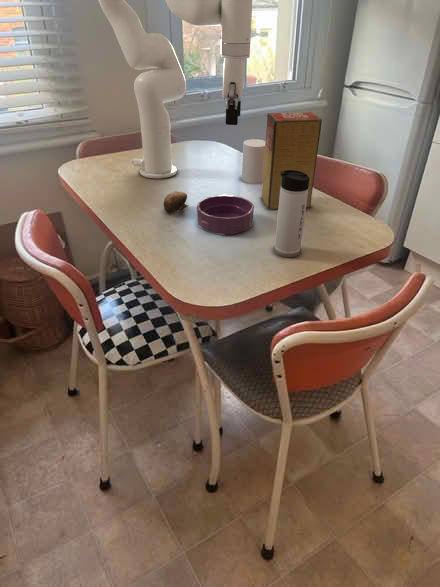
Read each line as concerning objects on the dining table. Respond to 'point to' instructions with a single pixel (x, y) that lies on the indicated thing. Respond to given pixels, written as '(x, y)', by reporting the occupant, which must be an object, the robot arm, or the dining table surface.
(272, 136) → the food packaging
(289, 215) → the travel mug
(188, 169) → the dining table surface
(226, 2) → the robot arm
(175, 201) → the mushroom
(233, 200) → the bowl
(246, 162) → the white cylinder
